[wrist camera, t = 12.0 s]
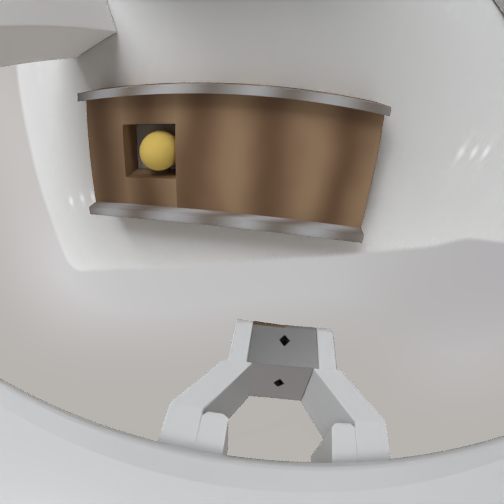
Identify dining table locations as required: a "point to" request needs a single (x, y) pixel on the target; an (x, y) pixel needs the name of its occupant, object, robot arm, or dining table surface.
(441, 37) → the dining table surface
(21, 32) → the milk
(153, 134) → the ball
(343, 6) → the dining table surface
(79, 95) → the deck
